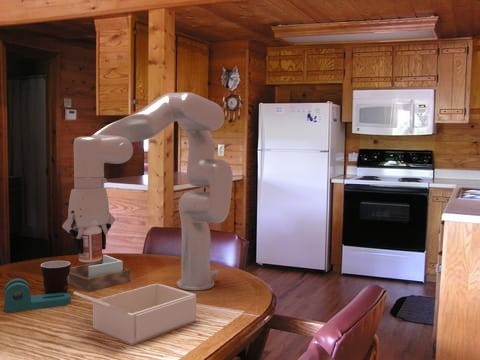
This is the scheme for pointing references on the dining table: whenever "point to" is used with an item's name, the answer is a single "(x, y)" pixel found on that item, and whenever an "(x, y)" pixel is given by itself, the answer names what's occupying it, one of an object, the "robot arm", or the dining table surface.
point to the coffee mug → (55, 276)
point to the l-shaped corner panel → (105, 267)
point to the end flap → (100, 302)
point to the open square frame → (95, 278)
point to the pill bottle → (91, 243)
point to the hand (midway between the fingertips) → (90, 250)
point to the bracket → (30, 298)
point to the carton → (144, 313)
